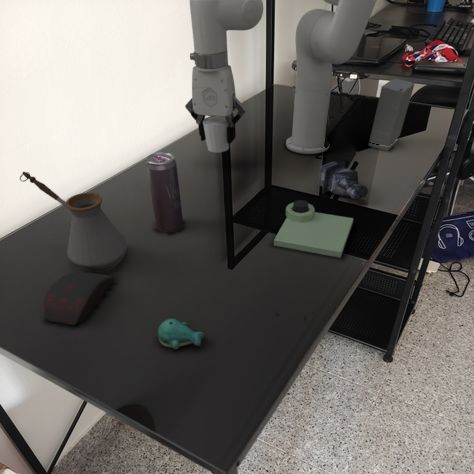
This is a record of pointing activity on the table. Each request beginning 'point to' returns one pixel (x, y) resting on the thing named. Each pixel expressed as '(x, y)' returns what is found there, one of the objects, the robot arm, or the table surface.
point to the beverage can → (165, 191)
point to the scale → (314, 232)
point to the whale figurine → (178, 334)
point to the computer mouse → (74, 296)
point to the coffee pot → (89, 231)
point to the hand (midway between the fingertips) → (217, 139)
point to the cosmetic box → (390, 113)
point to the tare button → (300, 206)
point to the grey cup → (216, 133)
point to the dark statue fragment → (341, 181)
